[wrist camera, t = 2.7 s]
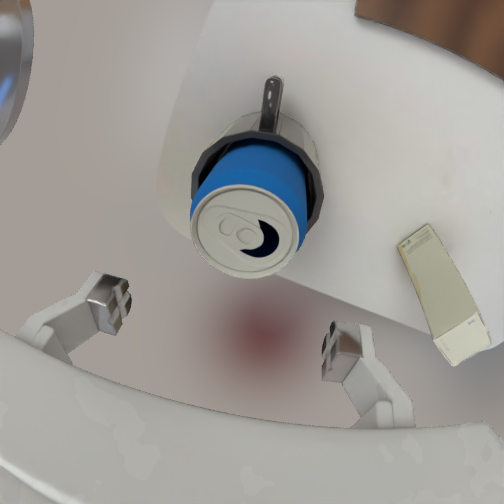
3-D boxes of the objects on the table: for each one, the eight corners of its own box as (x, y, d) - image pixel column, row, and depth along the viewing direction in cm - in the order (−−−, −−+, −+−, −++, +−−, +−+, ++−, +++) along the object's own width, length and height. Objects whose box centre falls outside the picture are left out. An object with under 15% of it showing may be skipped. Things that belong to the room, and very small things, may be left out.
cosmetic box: (395, 245, 28) (429, 339, 19) (429, 220, 26) (479, 309, 16) (420, 280, 30) (451, 369, 21) (452, 259, 28) (493, 345, 18)
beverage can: (281, 206, 28) (269, 300, 18) (217, 174, 27) (168, 253, 17) (318, 148, 24) (332, 218, 14) (249, 111, 23) (210, 153, 13)
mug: (305, 211, 28) (306, 260, 22) (214, 195, 28) (190, 239, 22) (333, 84, 21) (348, 93, 15) (226, 67, 21) (198, 71, 15)
